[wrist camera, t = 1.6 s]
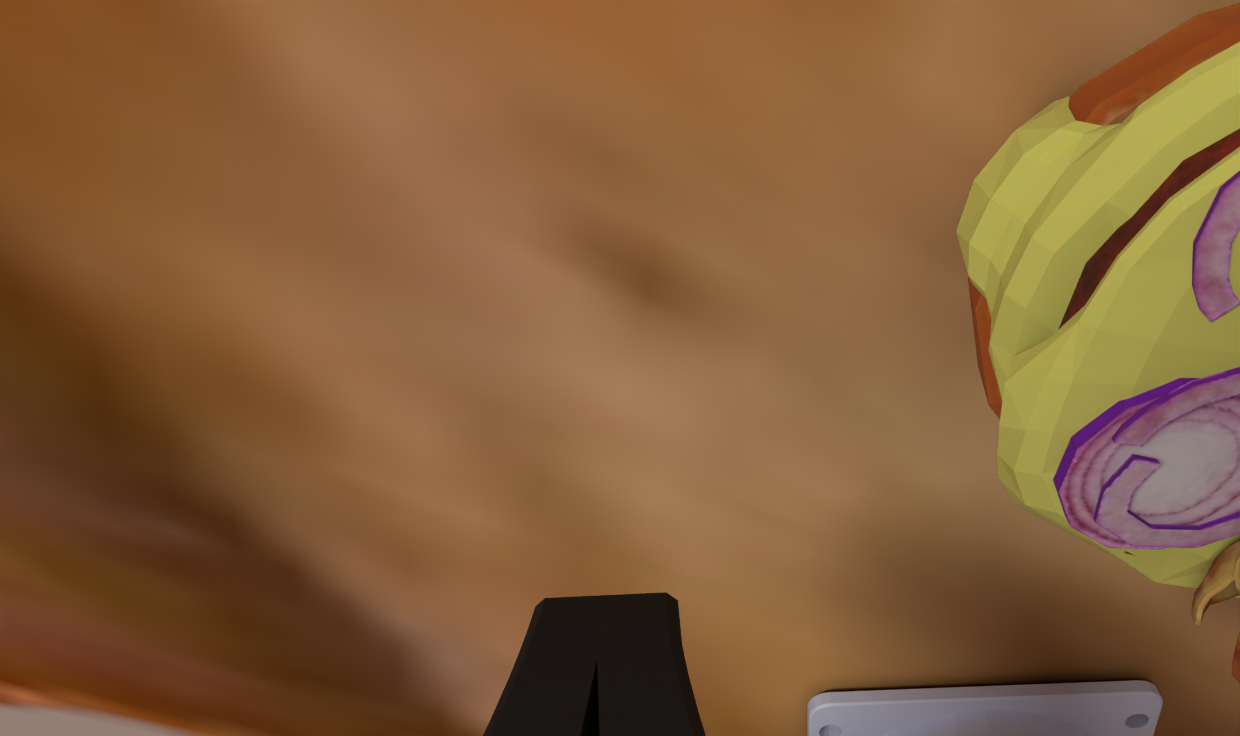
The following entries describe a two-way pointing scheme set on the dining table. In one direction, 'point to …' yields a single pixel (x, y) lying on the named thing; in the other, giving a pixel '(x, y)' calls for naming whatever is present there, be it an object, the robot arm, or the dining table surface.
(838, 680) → the dining table surface
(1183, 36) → the cheeseburger
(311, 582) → the dining table surface
